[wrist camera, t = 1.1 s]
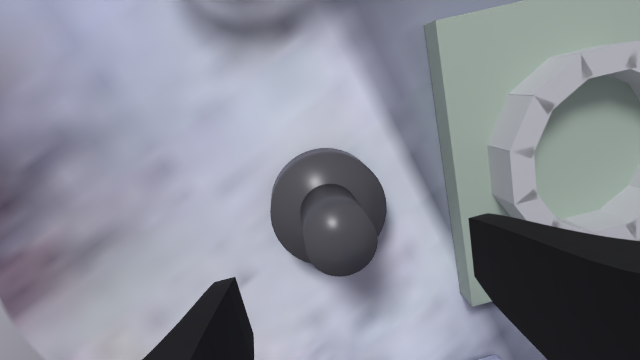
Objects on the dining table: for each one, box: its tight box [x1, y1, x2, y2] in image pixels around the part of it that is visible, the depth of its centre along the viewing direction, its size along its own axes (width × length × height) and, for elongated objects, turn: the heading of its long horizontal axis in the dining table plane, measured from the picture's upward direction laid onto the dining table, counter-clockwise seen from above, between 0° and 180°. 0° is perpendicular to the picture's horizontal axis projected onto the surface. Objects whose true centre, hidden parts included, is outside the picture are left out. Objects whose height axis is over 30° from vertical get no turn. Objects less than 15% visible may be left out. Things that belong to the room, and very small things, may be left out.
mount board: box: [424, 0, 640, 307], centre depth 20 cm, size 16×14×4 cm
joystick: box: [271, 148, 386, 276], centre depth 18 cm, size 6×6×6 cm
